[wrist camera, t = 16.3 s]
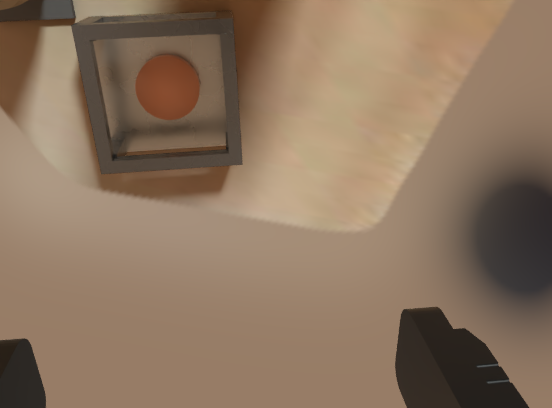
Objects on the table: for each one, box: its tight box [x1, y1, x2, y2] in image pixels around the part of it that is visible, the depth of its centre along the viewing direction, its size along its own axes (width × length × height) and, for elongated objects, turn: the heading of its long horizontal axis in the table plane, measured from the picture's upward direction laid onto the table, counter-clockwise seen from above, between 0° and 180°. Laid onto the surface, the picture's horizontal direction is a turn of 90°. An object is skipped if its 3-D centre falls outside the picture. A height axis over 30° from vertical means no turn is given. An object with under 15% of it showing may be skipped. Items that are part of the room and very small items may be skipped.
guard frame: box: [71, 11, 243, 174], centre depth 40 cm, size 11×11×5 cm
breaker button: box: [135, 54, 200, 120], centre depth 41 cm, size 5×5×1 cm
